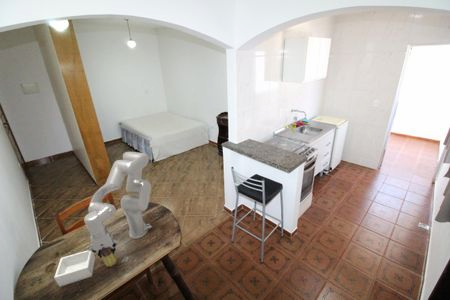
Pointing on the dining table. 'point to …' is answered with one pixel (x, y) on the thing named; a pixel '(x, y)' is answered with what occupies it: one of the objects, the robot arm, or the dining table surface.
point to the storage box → (75, 268)
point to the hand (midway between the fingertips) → (107, 253)
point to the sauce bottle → (108, 256)
